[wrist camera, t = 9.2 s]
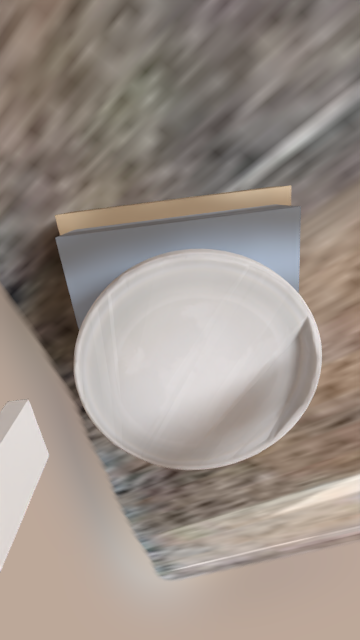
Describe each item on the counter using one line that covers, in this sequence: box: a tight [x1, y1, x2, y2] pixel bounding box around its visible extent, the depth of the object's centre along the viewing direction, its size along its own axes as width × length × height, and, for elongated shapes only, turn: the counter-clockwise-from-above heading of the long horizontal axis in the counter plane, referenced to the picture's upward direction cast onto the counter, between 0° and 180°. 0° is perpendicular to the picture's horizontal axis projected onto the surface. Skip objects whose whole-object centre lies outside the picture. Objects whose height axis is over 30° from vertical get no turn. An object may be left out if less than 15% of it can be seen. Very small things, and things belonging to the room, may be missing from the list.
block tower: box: [55, 186, 301, 330], centre depth 23 cm, size 15×15×8 cm
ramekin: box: [73, 249, 322, 470], centre depth 17 cm, size 11×11×5 cm
